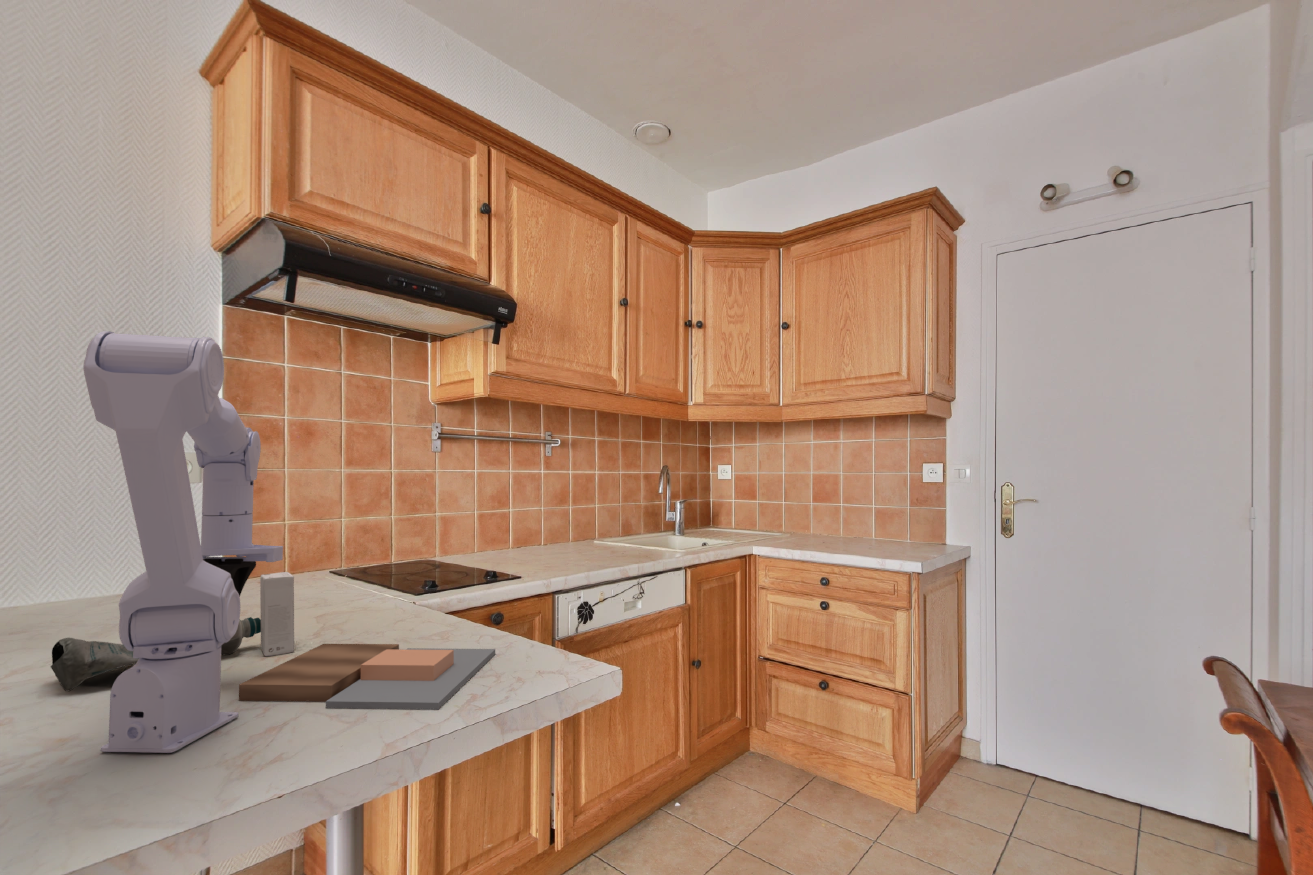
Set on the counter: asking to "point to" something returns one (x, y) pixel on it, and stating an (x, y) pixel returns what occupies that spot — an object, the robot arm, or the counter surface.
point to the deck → (312, 674)
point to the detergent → (116, 655)
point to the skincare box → (277, 613)
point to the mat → (414, 686)
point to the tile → (407, 665)
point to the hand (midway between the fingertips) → (224, 615)
